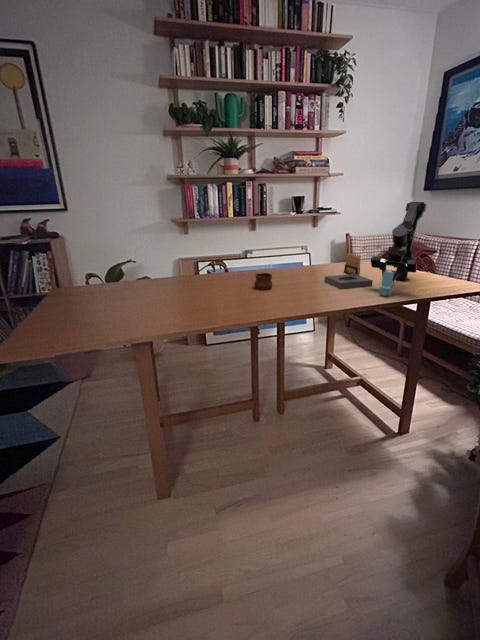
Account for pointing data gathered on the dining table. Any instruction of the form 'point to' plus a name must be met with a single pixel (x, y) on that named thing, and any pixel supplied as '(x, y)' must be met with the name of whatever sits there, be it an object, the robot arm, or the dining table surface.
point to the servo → (387, 283)
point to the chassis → (348, 281)
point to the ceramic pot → (263, 281)
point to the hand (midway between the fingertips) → (387, 279)
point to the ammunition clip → (352, 264)
